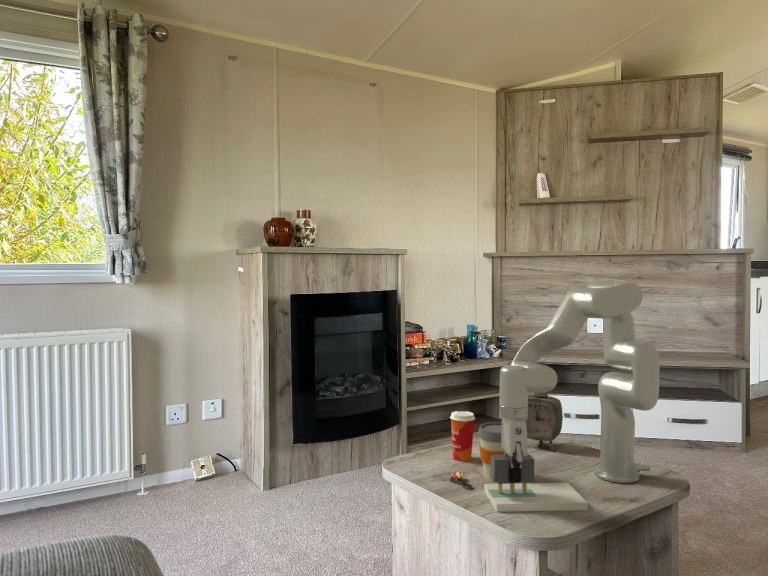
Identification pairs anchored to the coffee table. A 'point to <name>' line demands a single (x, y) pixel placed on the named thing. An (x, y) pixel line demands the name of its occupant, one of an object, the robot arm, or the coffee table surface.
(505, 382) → the robot arm
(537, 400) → the tabletop clock
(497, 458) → the block
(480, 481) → the coffee table surface
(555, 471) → the coffee table surface
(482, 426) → the reusable coffee cup
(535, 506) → the board
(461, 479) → the composite cable
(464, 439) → the coffee cup
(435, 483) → the coffee table surface
